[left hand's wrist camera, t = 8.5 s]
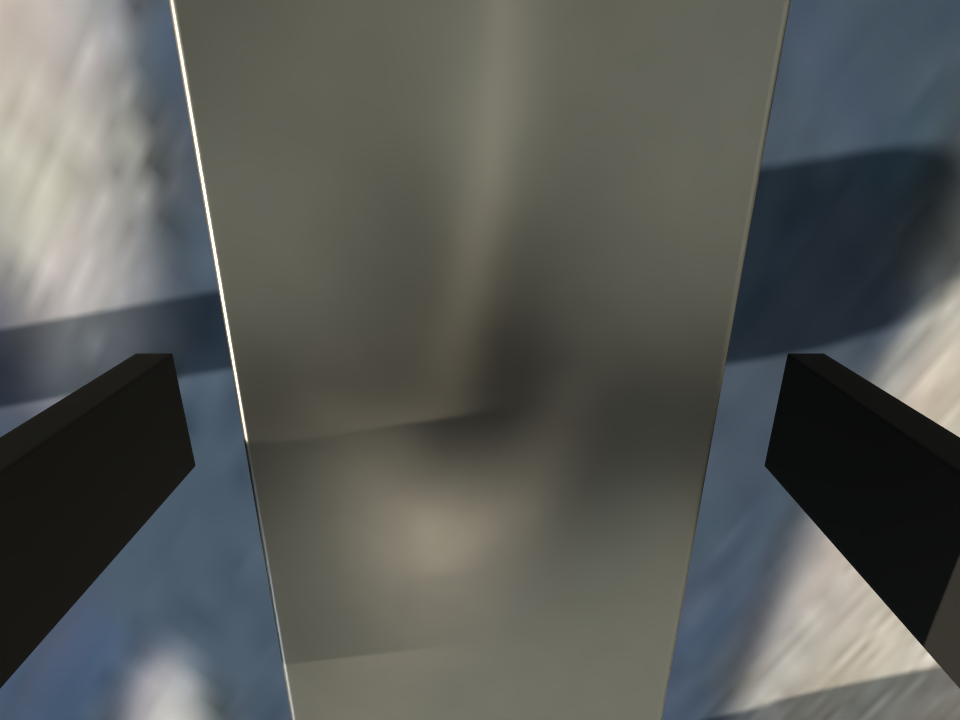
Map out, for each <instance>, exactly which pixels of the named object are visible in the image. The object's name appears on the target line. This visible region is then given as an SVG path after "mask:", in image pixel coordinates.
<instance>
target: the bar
mask: <svg viewBox="0 0 960 720" xmlns="http://www.w3.org/2000/svg"><path fill="white" fill-rule="evenodd" d="M790 1H791V0H169V3H170V9H171V15H172V21H173V26H174V32H175V38H176V44H177V50H178V56H179V62H180V67H181V73H182V79H183V85H184V91H185V97H186V103H187V108H188V114H189V120H190V126H191V132H192V138H193V144H194V149H195V155H196V161H197V167H198V173H199V179H200V185H201V190H202V196H203V202H204V208H205V214H206V220H207V226H208V231H209V237H210V243H211V249H212V255H213V261H214V267H215V272H216V278H217V284H218V290H219V296H220V302H221V308H222V313H223V319H224V325H225V331H226V337H227V343H228V349H229V354H230V360H231V366H232V372H233V378H234V384H235V390H236V395H237V401H238V407H239V413H240V419H241V425H242V431H243V436H244V442H245V448H246V454H247V460H248V466H249V472H250V477H251V483H252V489H253V495H254V501H255V507H256V513H257V518H258V524H259V530H260V536H261V542H262V548H263V554H264V559H265V565H266V571H267V577H268V583H269V589H270V595H271V600H272V606H273V612H274V618H275V624H276V630H277V636H278V641H279V647H280V653H281V659H282V665H283V671H284V676H285V682H286V688H287V694H288V700H289V706H290V712H291V717H292V720H662V714H663V709H664V703H665V697H666V692H667V686H668V681H669V675H670V670H671V664H672V658H673V653H674V647H675V642H676V636H677V631H678V625H679V619H680V614H681V608H682V603H683V597H684V592H685V586H686V580H687V575H688V569H689V564H690V558H691V553H692V547H693V542H694V536H695V530H696V525H697V519H698V514H699V508H700V503H701V497H702V491H703V486H704V480H705V475H706V469H707V464H708V458H709V452H710V447H711V441H712V436H713V430H714V425H715V419H716V413H717V408H718V402H719V397H720V391H721V386H722V380H723V374H724V369H725V363H726V358H727V352H728V347H729V341H730V335H731V330H732V324H733V319H734V313H735V308H736V302H737V296H738V291H739V285H740V280H741V274H742V269H743V263H744V257H745V252H746V246H747V241H748V235H749V230H750V224H751V219H752V213H753V207H754V202H755V196H756V191H757V185H758V180H759V174H760V168H761V163H762V157H763V152H764V146H765V141H766V135H767V129H768V124H769V118H770V113H771V107H772V102H773V96H774V90H775V85H776V79H777V74H778V68H779V63H780V57H781V51H782V46H783V40H784V35H785V29H786V24H787V18H788V12H789V7H790Z"/></svg>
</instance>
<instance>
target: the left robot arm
mask: <svg viewBox="0 0 960 720" xmlns="http://www.w3.org/2000/svg"><path fill="white" fill-rule="evenodd" d="M194 467H195V461H194V457H193V452H192V447H191V442H190V437H189V433H188V428H187V423H186V418H185V413H184V409H183V404H182V399H181V394H180V389H179V385H178V380H177V375H176V370H175V365H174V361H173V356H172V354H135V355H133V356H131V357H130V358H128V359H127V360H125V361H123V362H122V363H120V364H119V365H117V366H115V367H114V368H112V369H110V370H109V371H107V372H106V373H104V374H102V375H101V376H99V377H98V378H96V379H94V380H93V381H91V382H89V383H88V384H86V385H85V386H83V387H81V388H80V389H78V390H77V391H75V392H73V393H72V394H70V395H68V396H67V397H65V398H64V399H62V400H60V401H59V402H57V403H55V404H54V405H52V406H51V407H49V408H47V409H46V410H44V411H43V412H41V413H39V414H38V415H36V416H34V417H33V418H31V419H30V420H28V421H26V422H25V423H23V424H22V425H20V426H18V427H17V428H15V429H13V430H12V431H10V432H9V433H7V434H5V435H4V436H2V437H1V438H0V688H1V687H2V686H3V685H4V684H5V682H6V681H7V680H8V679H9V678H10V677H11V676H12V674H13V673H14V672H15V671H16V670H17V669H18V668H19V666H20V665H21V664H22V663H23V662H24V661H25V660H26V658H27V657H28V656H29V655H30V654H31V653H32V652H33V650H34V649H35V648H36V647H37V646H38V645H39V644H40V642H41V641H42V640H43V639H44V638H45V637H46V636H47V634H48V633H49V632H50V631H51V630H52V629H53V628H54V626H55V625H56V624H57V623H58V622H59V621H60V620H61V618H62V617H63V616H64V615H65V614H66V613H67V612H68V610H69V609H70V608H71V607H72V606H73V605H74V604H75V603H76V601H77V600H78V599H79V598H80V597H81V596H82V595H83V593H84V592H85V591H86V590H87V589H88V588H89V587H90V585H91V584H92V583H93V582H94V581H95V580H96V579H97V577H98V576H99V575H100V574H101V573H102V572H103V571H104V569H105V568H106V567H107V566H108V565H109V564H110V563H111V561H112V560H113V559H114V558H115V557H116V556H117V555H118V553H119V552H120V551H121V550H122V549H123V548H124V547H125V545H126V544H127V543H128V542H129V541H130V540H131V539H132V537H133V536H134V535H135V534H136V533H137V532H138V531H139V529H140V528H141V527H142V526H143V525H144V524H145V523H146V521H147V520H148V519H149V518H150V517H151V516H152V515H153V514H154V512H155V511H156V510H157V509H158V508H159V507H160V506H161V504H162V503H163V502H164V501H165V500H166V499H167V498H168V496H169V495H170V494H171V493H172V492H173V491H174V490H175V488H176V487H177V486H178V485H179V484H180V483H181V482H182V480H183V479H184V478H185V477H186V476H187V475H188V474H189V472H190V471H191V470H192V469H193V468H194ZM765 467H766V468H767V469H768V470H769V471H770V472H771V474H772V475H773V476H774V477H775V478H776V479H777V480H778V482H779V483H780V484H781V485H782V486H783V487H784V488H785V490H786V491H787V492H788V493H789V494H790V495H791V496H792V498H793V499H794V500H795V501H796V502H797V503H798V504H799V506H800V507H801V508H802V509H803V510H804V511H805V512H806V514H807V515H808V516H809V517H810V518H811V519H812V520H813V521H814V523H815V524H816V525H817V526H818V527H819V528H820V529H821V531H822V532H823V533H824V534H825V535H826V536H827V537H828V539H829V540H830V541H831V542H832V543H833V544H834V545H835V547H836V548H837V549H838V550H839V551H840V552H841V553H842V555H843V556H844V557H845V558H846V559H847V560H848V561H849V563H850V564H851V565H852V566H853V567H854V568H855V569H856V571H857V572H858V573H859V574H860V575H861V576H862V577H863V579H864V580H865V581H866V582H867V583H868V584H869V585H870V587H871V588H872V589H873V590H874V591H875V592H876V593H877V595H878V596H879V597H880V598H881V599H882V600H883V601H884V603H885V604H886V605H887V606H888V607H889V608H890V609H891V610H892V612H893V613H894V614H895V615H896V616H897V617H898V618H899V620H900V621H901V622H902V623H903V624H904V625H905V626H906V628H907V629H908V630H909V631H910V632H911V633H912V634H913V636H914V637H915V638H916V639H917V640H918V641H919V642H920V644H921V645H922V646H923V647H924V648H925V649H926V650H927V652H928V653H929V654H930V655H931V656H932V657H933V658H934V660H935V661H936V662H937V663H938V664H939V665H940V666H941V668H942V669H943V670H944V671H945V672H946V673H947V674H948V676H949V677H950V678H951V679H952V680H953V681H954V682H955V684H956V685H957V686H958V687H959V688H960V438H959V437H958V436H956V435H955V434H953V433H951V432H950V431H948V430H947V429H945V428H943V427H942V426H940V425H938V424H937V423H935V422H934V421H932V420H930V419H929V418H927V417H926V416H924V415H922V414H921V413H919V412H917V411H916V410H914V409H913V408H911V407H909V406H908V405H906V404H905V403H903V402H901V401H900V400H898V399H896V398H895V397H893V396H892V395H890V394H888V393H887V392H885V391H883V390H882V389H880V388H879V387H877V386H875V385H874V384H872V383H871V382H869V381H867V380H866V379H864V378H862V377H861V376H859V375H858V374H856V373H854V372H853V371H851V370H850V369H848V368H846V367H845V366H843V365H841V364H840V363H838V362H837V361H835V360H833V359H832V358H830V357H829V356H827V355H825V354H788V356H787V361H786V365H785V370H784V375H783V380H782V385H781V389H780V394H779V399H778V404H777V409H776V413H775V418H774V423H773V428H772V433H771V437H770V442H769V447H768V452H767V457H766V461H765Z"/></svg>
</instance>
